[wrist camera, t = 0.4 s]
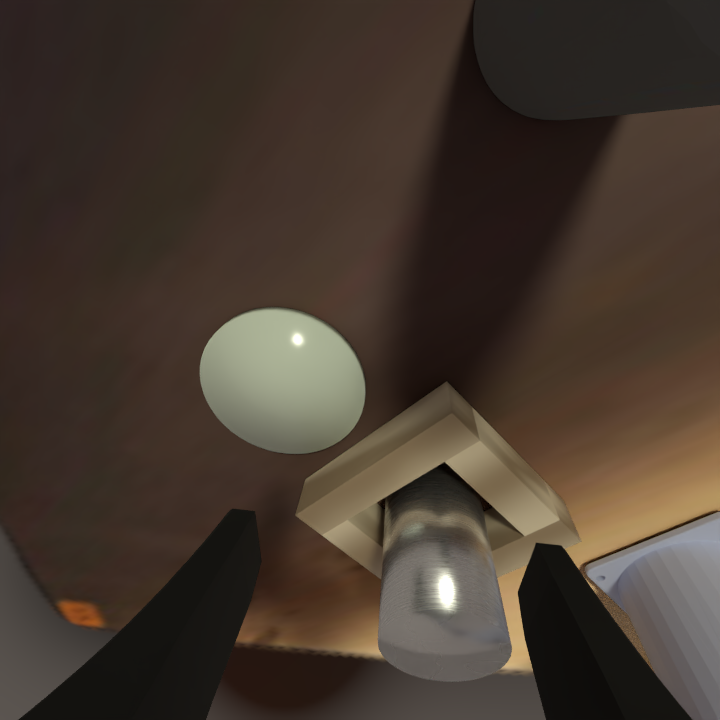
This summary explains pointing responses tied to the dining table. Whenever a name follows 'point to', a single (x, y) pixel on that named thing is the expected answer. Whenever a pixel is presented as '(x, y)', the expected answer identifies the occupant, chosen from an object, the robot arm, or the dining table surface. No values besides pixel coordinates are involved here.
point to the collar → (418, 456)
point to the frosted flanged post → (440, 583)
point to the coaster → (283, 380)
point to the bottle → (599, 55)
